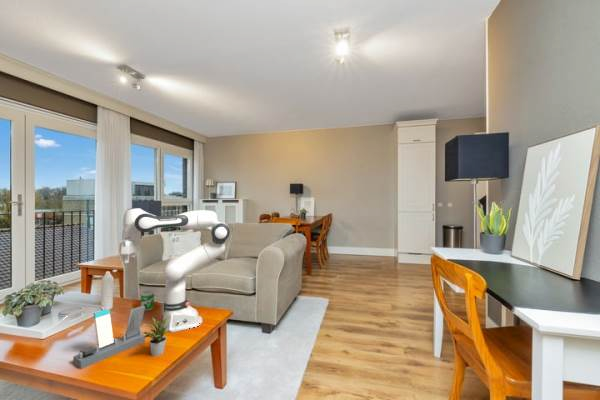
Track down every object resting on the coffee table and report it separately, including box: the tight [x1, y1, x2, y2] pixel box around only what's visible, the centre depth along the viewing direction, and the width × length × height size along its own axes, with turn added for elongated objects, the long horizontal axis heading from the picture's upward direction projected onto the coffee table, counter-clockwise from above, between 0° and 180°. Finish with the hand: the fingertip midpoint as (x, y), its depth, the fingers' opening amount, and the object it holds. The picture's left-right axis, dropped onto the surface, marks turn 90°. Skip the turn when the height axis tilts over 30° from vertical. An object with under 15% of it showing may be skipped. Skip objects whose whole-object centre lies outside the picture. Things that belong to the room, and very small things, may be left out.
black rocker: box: [79, 346, 97, 355], centre depth 119 cm, size 4×6×1 cm, turn 59°
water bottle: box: [100, 269, 118, 310], centre depth 179 cm, size 9×6×25 cm
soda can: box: [140, 290, 155, 312], centre depth 178 cm, size 8×8×12 cm
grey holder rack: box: [72, 328, 146, 370], centre depth 127 cm, size 27×8×5 cm, turn 149°
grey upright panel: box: [124, 305, 145, 339], centre depth 134 cm, size 6×2×16 cm, turn 149°
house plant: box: [139, 316, 172, 357], centre depth 128 cm, size 14×14×16 cm
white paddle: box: [93, 309, 114, 348], centre depth 127 cm, size 6×2×16 cm, turn 149°
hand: (129, 261), depth 148 cm, fingers open, 8 cm apart
